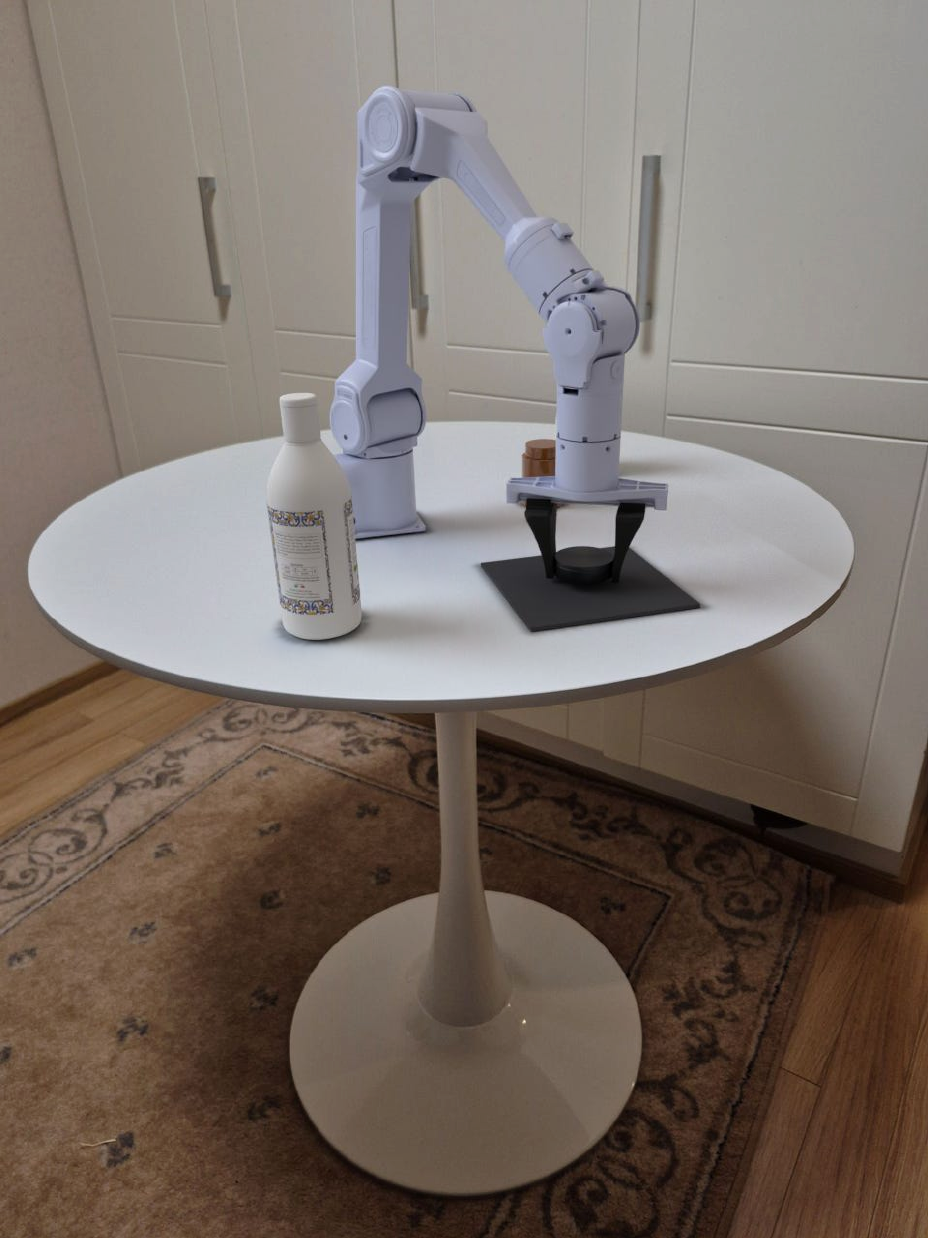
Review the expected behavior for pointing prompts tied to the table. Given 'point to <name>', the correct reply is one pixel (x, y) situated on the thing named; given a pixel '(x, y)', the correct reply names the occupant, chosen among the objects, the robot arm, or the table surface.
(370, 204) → the robot arm
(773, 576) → the table surface
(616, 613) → the mat
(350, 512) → the bath foam
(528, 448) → the jar
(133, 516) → the table surface
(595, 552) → the jar lid
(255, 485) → the table surface
